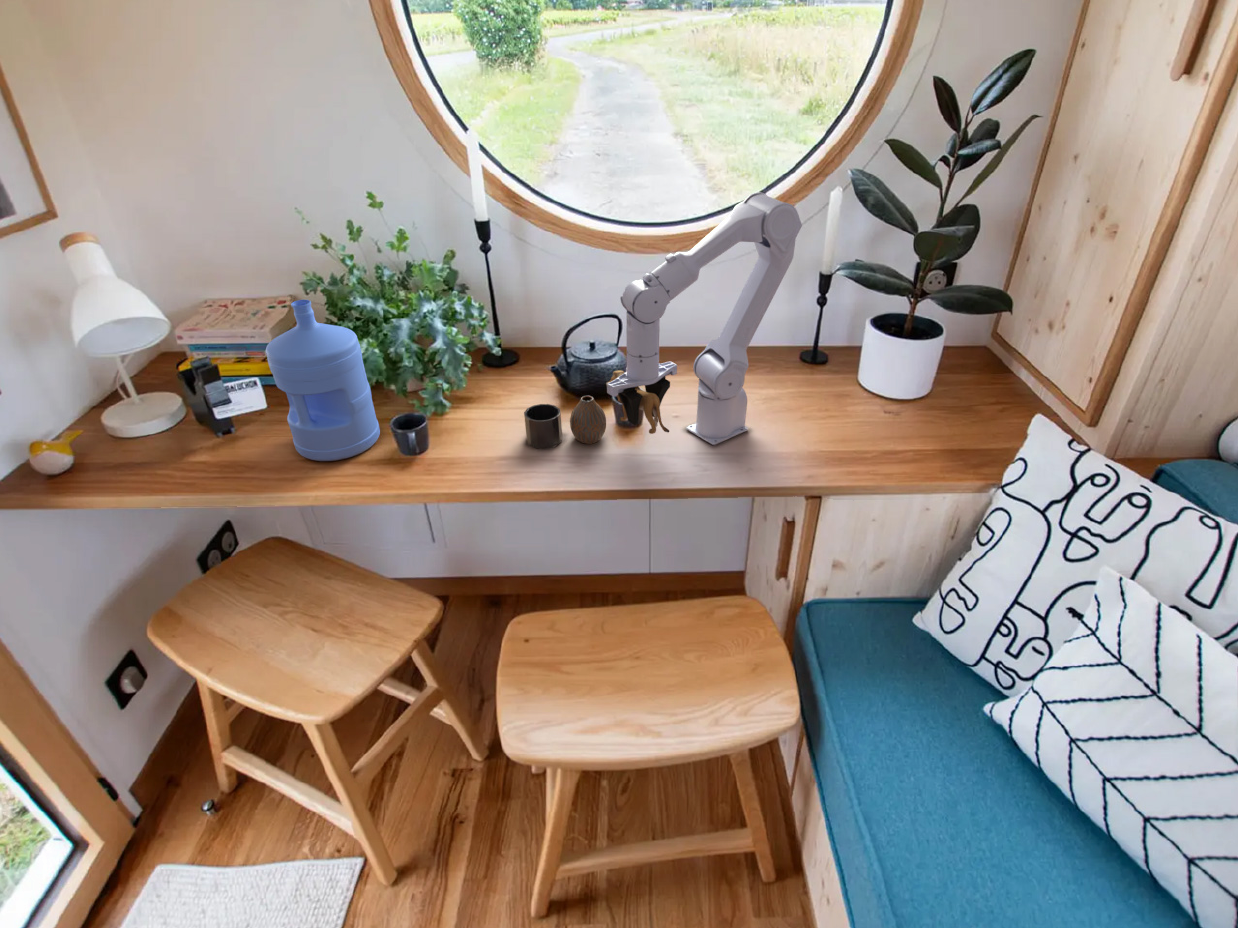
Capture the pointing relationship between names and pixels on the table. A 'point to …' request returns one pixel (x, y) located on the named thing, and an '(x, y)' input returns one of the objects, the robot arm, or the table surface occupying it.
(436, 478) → the table surface
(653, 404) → the lion figurine
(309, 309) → the water jug
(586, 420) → the vase
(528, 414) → the tea cup
